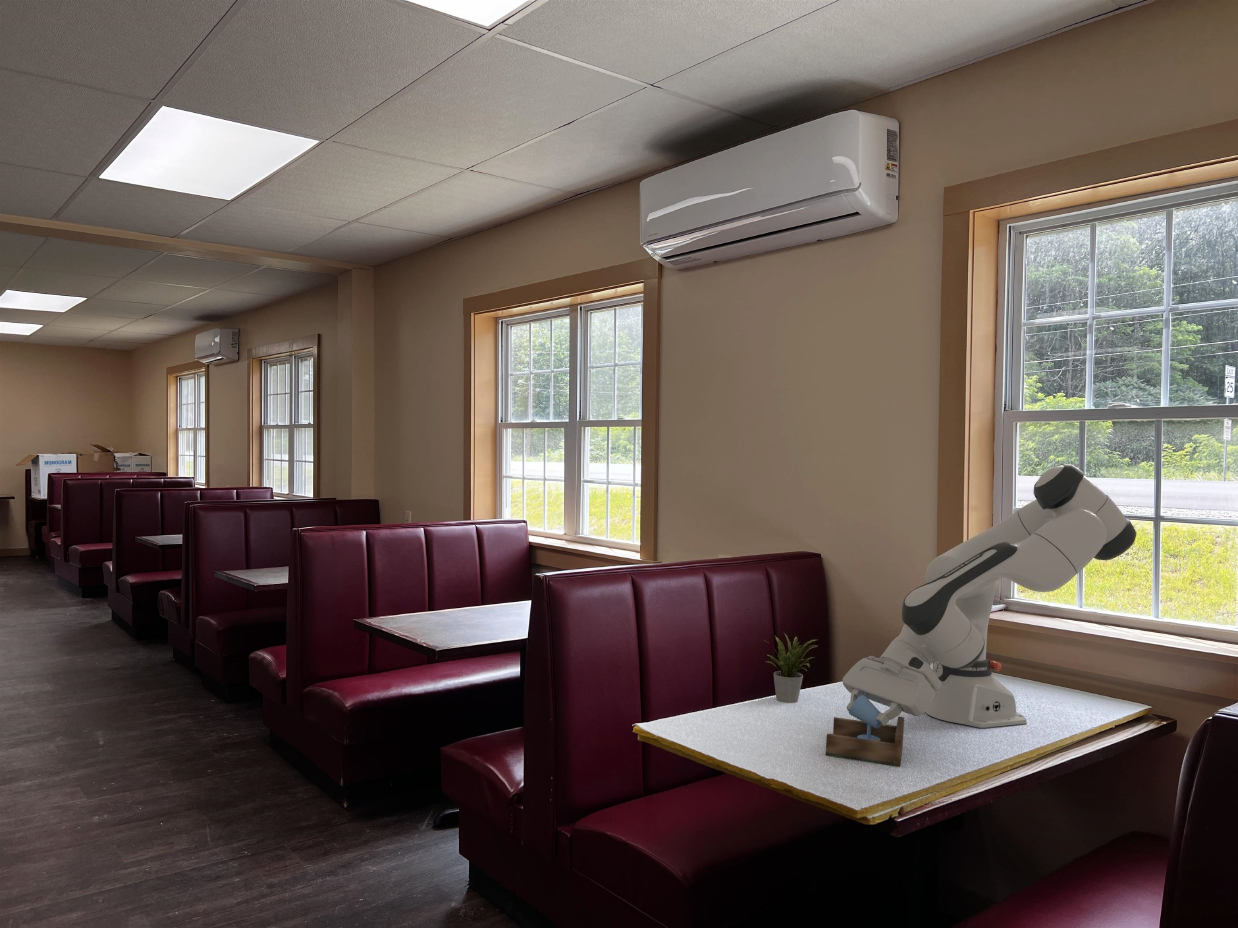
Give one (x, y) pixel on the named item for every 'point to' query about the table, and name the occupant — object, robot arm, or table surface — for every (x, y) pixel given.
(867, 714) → the spotlight
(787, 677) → the house plant
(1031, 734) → the table surface
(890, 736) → the wooden display tray
